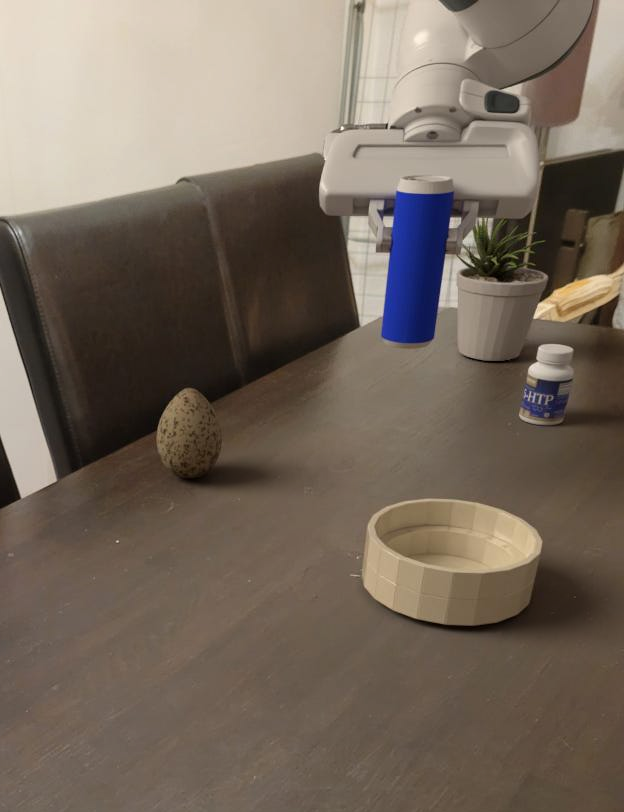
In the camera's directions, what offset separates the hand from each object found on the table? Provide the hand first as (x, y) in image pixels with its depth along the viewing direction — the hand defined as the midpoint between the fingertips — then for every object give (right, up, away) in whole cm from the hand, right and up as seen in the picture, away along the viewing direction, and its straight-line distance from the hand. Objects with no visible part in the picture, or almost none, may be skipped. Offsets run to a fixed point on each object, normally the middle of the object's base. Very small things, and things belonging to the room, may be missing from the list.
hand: (418, 250), depth 91 cm
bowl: (0, -33, -6) cm, 33 cm away
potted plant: (+26, +6, +54) cm, 60 cm away
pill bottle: (+24, -9, +30) cm, 39 cm away
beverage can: (0, -7, +5) cm, 9 cm away
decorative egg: (-21, -19, +16) cm, 33 cm away
